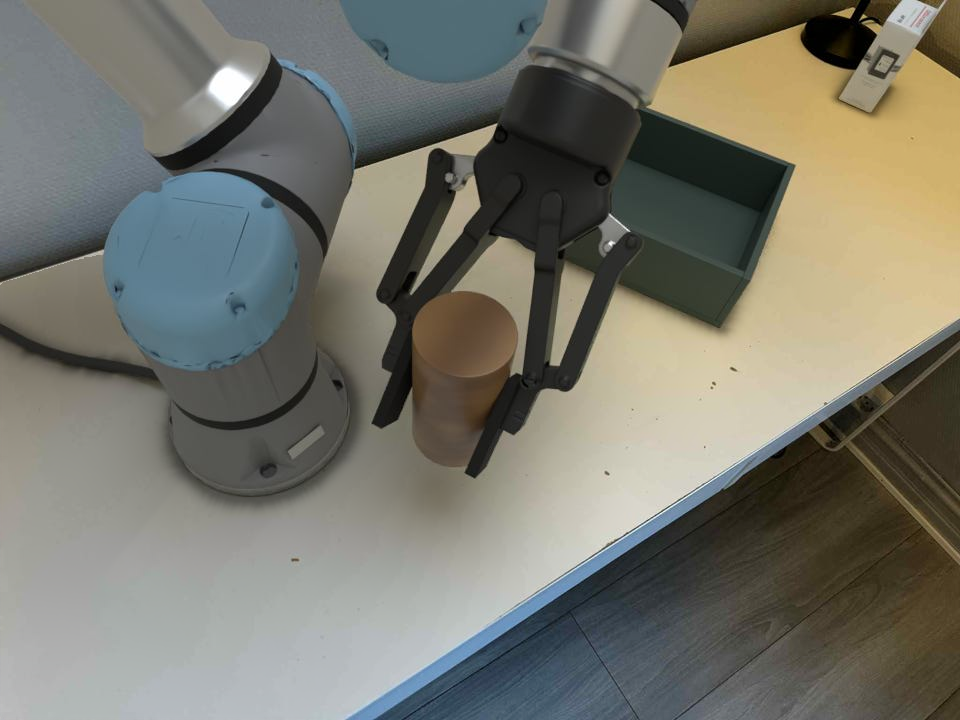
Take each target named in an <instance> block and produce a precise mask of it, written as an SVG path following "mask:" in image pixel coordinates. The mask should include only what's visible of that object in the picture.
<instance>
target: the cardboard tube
mask: <svg viewBox="0 0 960 720" xmlns="http://www.w3.org/2000/svg"><path fill="white" fill-rule="evenodd" d="M518 341H519V331H518V326H517V324H516V321H515V319H514V317H513V315H512V314H511V312H510V311H509V310H508V309H507V308H506V307H505V306H504V305H503V304H502V303H501V302H499V301H498V300H496V299H495V298H493V297H491V296H488V295H486V294H483V293H480V292H476V291H468V290H455V291H451V292H449V293H445V294H442V295H440V296H437V297H435V298H433V299H432V300H430V301H429V302H428V303H426V304H425V305H424V306H423V307H422V308H421V310H420V311H419V312H418V314H417V316H416V318H415V320H414V323H413V328H412V388H411V400H412V401H411V433H412V438H413V441H414V444H415V445H416V447H417V449H418V450H419V452H420V453H421V454H422V455H423V456H424V457H425V458H426V459H428V460H429V461H430V462H432V463H434V464H436V465H439V466H442V467H446V468H464V467H467V466H468V464H469V461H470V459H471V457H472V455H473V452H474V450H475V448H476V446H477V444H478V441H479V439H480V437H481V435H482V433H483V430H484V428H485V426H486V424H487V422H488V419H489V417H490V415H491V413H492V410H493V408H494V406H495V404H496V402H497V399H498V397H499V395H500V393H501V391H502V388H503V386H504V385H505V383H506V381H507V379H508V378H509V377H511V372H512V370H513V365H514V360H515V357H516V351H517V346H518Z"/></svg>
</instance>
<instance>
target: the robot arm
mask: <svg viewBox="0 0 960 720" xmlns="http://www.w3.org/2000/svg"><path fill="white" fill-rule="evenodd" d="M20 1H21V2H22V3H23V4H24V5H25V6H26V7H27V8H28V9H29V10H30V11H31V12H33V14H34V15H36V16H37V18H38V19H40V20H41V21H42V22H43V23H44V24H45V25H46V26H47V27H48V28H49V29H50V30H51V31H52V32H53V33H54V34H55V35H56V36H57V37H58V38H60V40H61V41H62V42H64V44H66V45H67V46H68V48H69V49H71V51H73V52H74V53H75V54H76V56H78V57H79V59H81V60H82V61H83V62H84V63H85V64H86V65H87V66H88V67H89V68H90V69H91V70H92V71H94V73H95V74H96V75H98V77H99V78H101V79H102V81H104V82H105V83H106V84H107V85H108V86H109V87H110V88H111V89H112V90H113V91H114V92H115V93H116V94H117V95H118V96H119V97H120V98H121V99H122V100H123V101H124V102H125V103H127V105H129V107H131V108H132V110H134V111H135V112H136V113H137V114H138V115H139V116H140V120H141V122H142V124H141V125H142V142H143V148H144V149H145V151H146V152H147V154H148V155H150V156H151V157H152V158H153V159H154V160H155V161H156V162H157V163H158V164H159V165H161V166H162V167H163V168H164V169H165V170H166V171H167V172H168V173H169V174H170V175H171V176H172V177H170V178H166V179H164V180H162V181H160V190H159V191H156V192H152V191H150V190H144V191H143V192H142V191H141V193H139V194H138V195H136V196H135V197H134V198H133V199H132V200H131V201H130V202H129V203H128V204H127V205H126V206H125V207H124V208H123V209H122V211H120V213H119V214H118V216H117V217H116V219H115V220H114V222H113V223H112V226H111V228H110V230H109V233H108V235H107V238H106V240H105V244H104V248H103V253H102V272H103V279H104V283H105V287H106V290H107V292H108V294H109V296H110V299H111V301H112V303H113V306H114V311H115V313H116V316H117V318H118V320H119V321H120V323H121V326H122V328H123V329H124V331H125V334H127V336H128V337H129V339H131V340H132V342H134V345H136V346H137V348H138V349H139V351H140V353H141V354H142V355H143V357H144V359H145V360H146V362H147V363H148V365H149V366H150V367H146V366H141V365H137V364H133V363H127V362H122V361H119V360H118V361H117V360H113V359H106V358H99V357H92V356H88V355H87V356H86V355H82V354H78V353H77V354H76V353H72V352H68V351H64V350H60V349H56V348H53V347H50V346H47V345H44V344H42V343H39V342H37V341H34V340H32V339H30V338H28V337H27V336H24V335H23V334H21V333H19V332H17V331H15V330H13V329H11V328H9V327H8V326H6V325H5V324H3V323H0V336H2V337H3V338H5V339H7V340H9V341H10V342H13V343H14V344H16V345H18V346H20V347H22V348H24V349H27V350H28V351H31V352H33V353H36V354H37V355H39V356H43V357H46V358H49V359H52V360H55V361H58V362H63V363H66V364H71V365H75V366H81V367H88V368H92V369H100V370H105V371H110V372H111V371H112V372H117V373H123V374H127V375H132V376H136V377H141V378H144V379H150V380H154V381H158V382H160V384H161V385H162V386H163V388H164V390H165V391H166V393H167V394H168V395H169V397H170V402H169V407H168V429H169V435H170V438H171V442H172V445H173V447H174V450H175V452H176V453H177V455H178V457H179V459H180V460H181V462H182V463H183V464H184V466H185V467H186V468H187V469H188V471H189V472H190V473H191V474H192V475H193V476H194V477H195V478H197V479H198V480H199V481H200V482H202V483H203V484H205V485H206V486H208V487H211V488H213V489H215V490H217V491H219V492H223V493H228V494H231V495H236V496H247V497H254V496H255V497H257V496H266V495H272V494H276V493H279V492H283V491H285V490H288V489H291V488H293V487H296V486H298V485H300V484H302V483H303V482H305V481H307V480H309V479H311V478H312V477H313V476H314V475H317V473H319V472H320V471H321V470H322V469H323V468H324V467H325V466H326V465H327V464H328V463H329V462H330V461H331V459H333V457H334V456H335V455H336V453H337V452H338V450H339V449H340V447H341V445H342V443H343V442H344V439H345V436H346V434H347V430H348V427H349V422H350V411H351V409H350V401H349V394H348V389H347V385H346V382H345V380H344V377H343V375H342V374H341V372H340V369H339V368H338V367H337V365H336V363H335V362H334V361H333V360H332V358H330V356H329V355H327V353H326V352H325V351H324V350H323V349H322V348H321V347H320V346H319V345H318V344H317V343H316V339H315V335H314V330H313V325H312V321H311V307H312V301H313V298H314V295H315V291H316V289H317V285H318V283H319V278H320V276H321V272H322V268H323V266H324V262H325V259H326V257H327V256H328V252H329V249H330V245H331V242H332V239H333V236H334V234H335V231H336V227H337V224H338V222H339V218H340V215H341V212H342V209H343V207H344V204H345V200H346V198H347V196H348V194H349V193H350V190H351V187H352V184H353V179H354V176H355V166H356V163H355V162H356V159H357V152H358V138H357V133H356V128H355V124H354V120H353V118H352V116H351V113H350V111H349V108H348V107H347V105H346V104H345V102H344V101H343V99H342V98H341V96H340V95H339V93H338V92H337V91H336V90H335V89H334V88H333V87H332V86H331V84H329V83H328V82H327V81H326V80H325V79H324V78H322V76H320V75H319V74H318V73H316V72H314V71H313V70H311V69H306V70H303V69H301V68H298V65H297V63H295V62H294V61H290V60H286V59H281V58H276V57H275V56H274V54H273V53H272V52H271V51H270V50H269V48H268V47H267V46H266V45H265V44H264V43H262V42H259V41H253V40H246V39H241V38H236V37H234V36H232V35H230V34H229V33H228V31H227V30H226V28H224V26H223V25H222V24H221V23H220V21H219V20H218V19H217V18H216V17H215V15H214V14H213V13H212V11H210V9H209V8H208V7H207V5H205V3H204V2H203V1H202V0H20ZM337 1H338V3H339V6H340V9H341V11H342V13H343V15H344V18H345V20H346V21H347V23H348V24H349V26H350V28H351V30H352V31H353V33H354V34H356V36H357V37H358V38H359V39H360V41H363V42H364V43H365V44H366V45H367V46H368V47H369V48H370V50H371V51H372V52H374V53H375V54H376V55H378V56H379V57H380V58H381V59H382V60H383V62H384V64H385V65H387V66H389V67H390V68H391V69H393V70H395V71H396V72H399V73H400V74H403V75H405V76H408V77H411V78H413V79H416V80H419V81H423V82H428V83H433V84H447V85H449V84H461V83H467V82H472V81H476V80H479V79H482V78H483V79H484V78H486V77H488V76H489V75H492V74H494V73H496V72H498V71H499V70H501V69H503V68H504V67H506V66H507V65H508V64H509V63H510V62H512V61H513V60H514V59H516V57H517V56H519V55H520V53H521V52H522V51H523V50H524V49H525V48H526V47H527V46H528V47H527V50H526V51H527V54H528V57H529V59H530V60H531V62H532V63H533V64H529V65H526V66H524V68H521V69H519V70H518V73H517V75H516V77H515V79H514V82H513V85H512V87H511V90H510V92H509V94H508V97H507V98H506V101H505V103H504V106H503V108H502V111H501V114H500V116H499V119H498V121H497V123H496V126H495V129H494V132H493V135H492V137H490V140H489V141H488V142H487V144H485V145H484V146H483V147H482V148H480V150H478V152H477V153H476V154H475V155H470V154H458V153H450V152H449V151H447V150H445V149H443V148H441V147H435V148H433V149H431V150H430V152H429V153H428V157H427V163H426V172H425V182H424V187H423V189H422V191H421V194H420V196H419V198H418V200H417V203H416V204H415V207H414V209H413V211H412V213H411V216H410V218H409V220H408V222H407V224H406V226H405V228H404V230H403V233H402V235H401V237H400V239H399V242H398V243H397V245H396V247H395V250H394V252H393V254H392V256H391V258H390V261H389V263H388V265H387V267H386V269H385V270H384V271H385V272H384V274H383V276H382V277H381V279H380V282H379V285H378V287H377V288H376V292H375V298H376V299H377V301H378V302H379V303H380V304H382V305H385V306H386V307H387V308H388V309H389V310H390V311H391V312H392V314H393V315H394V317H395V325H394V328H393V330H392V333H391V335H390V338H389V340H388V342H387V346H386V348H385V351H384V353H383V355H382V358H381V369H382V370H385V371H387V372H388V373H390V377H389V379H388V381H387V383H386V386H385V389H384V391H383V394H382V396H381V397H380V400H379V404H378V406H377V408H376V411H375V413H374V416H373V418H372V421H371V425H373V426H375V427H377V428H379V429H380V430H383V429H384V428H387V427H388V426H389V425H392V424H393V423H395V422H397V421H399V419H400V416H401V415H402V412H403V409H404V408H405V404H406V403H407V400H408V397H409V395H410V392H411V391H412V328H413V323H414V320H415V318H416V316H417V314H418V312H419V311H420V310H421V308H422V307H423V306H424V305H425V304H426V303H428V302H429V301H430V300H432V299H433V298H435V297H437V296H440V295H442V294H445V293H449V292H453V290H454V289H455V288H456V287H457V286H458V284H459V283H461V281H462V279H463V278H464V277H465V276H466V275H467V274H468V273H469V271H470V270H471V269H472V268H473V266H474V265H475V264H476V262H478V260H479V259H480V258H481V257H482V256H483V254H484V253H485V252H486V251H487V250H488V249H489V247H491V246H492V245H494V243H495V242H496V241H497V240H498V239H499V238H503V239H508V240H514V241H516V242H518V243H519V244H521V245H522V246H523V247H524V248H525V249H527V250H529V251H532V252H533V253H534V260H533V271H534V274H533V282H532V290H531V296H530V299H531V300H530V306H529V315H528V322H527V331H526V340H525V348H524V355H523V364H522V371H521V373H519V372H515V373H514V374H512V375H510V377H509V378H508V379H507V381H506V383H505V385H504V386H503V388H502V391H501V393H500V395H499V397H498V399H497V402H496V404H495V406H494V408H493V410H492V413H491V415H490V417H489V419H488V422H487V424H486V426H485V428H484V430H483V433H482V435H481V437H480V439H479V441H478V444H477V446H476V448H475V450H474V452H473V455H472V457H471V459H470V461H469V464H468V466H466V468H465V470H464V474H465V475H466V476H467V477H468V476H469V477H471V478H472V479H475V480H476V478H477V477H478V476H480V475H481V473H482V472H483V471H484V470H485V469H486V468H487V467H488V464H489V462H490V460H491V458H492V456H493V454H494V451H495V449H496V447H497V445H498V443H499V440H500V438H501V436H502V434H503V432H506V433H508V434H510V435H511V436H515V435H516V434H517V433H519V431H520V430H522V428H523V427H524V426H525V425H526V424H527V421H528V419H529V416H530V415H531V413H532V410H533V409H534V406H535V404H536V402H537V400H538V398H539V396H540V394H541V391H544V390H547V389H548V390H558V391H559V392H563V393H567V392H570V391H571V390H573V388H574V387H575V386H576V385H577V383H578V382H579V381H580V379H581V376H582V374H583V372H584V369H585V366H586V363H587V361H588V359H589V356H590V354H591V351H592V349H593V347H594V344H595V342H596V339H597V336H598V334H599V331H600V329H601V327H602V324H603V321H604V319H605V316H606V314H607V311H608V309H609V306H610V303H611V301H612V299H613V296H614V293H615V291H616V289H617V286H618V284H619V283H618V281H619V279H620V276H621V274H622V272H623V271H624V270H625V269H626V268H627V267H628V266H629V264H630V263H631V262H632V261H633V260H634V259H635V258H636V257H637V255H638V254H639V253H640V252H641V251H642V249H643V247H644V241H643V239H642V237H641V236H640V235H639V234H638V233H636V232H632V231H630V230H629V229H628V228H627V227H625V226H624V225H623V224H622V223H621V222H619V221H618V220H617V219H616V218H615V217H614V216H612V215H611V210H612V205H611V194H612V190H613V187H614V184H615V182H616V180H617V178H618V175H619V173H620V171H621V169H622V167H623V165H624V162H625V160H626V158H627V156H628V154H629V152H630V149H631V147H632V145H633V143H634V141H635V138H636V136H637V134H638V132H639V130H640V128H641V125H642V123H641V121H640V115H639V113H638V112H637V111H638V109H643V108H645V107H647V108H648V107H649V106H651V105H652V103H653V102H654V99H655V97H656V95H657V92H658V91H659V88H660V86H661V84H662V82H663V79H664V77H665V75H666V72H667V70H668V68H669V66H670V63H671V61H672V59H673V57H674V55H675V53H676V51H677V48H678V46H679V44H680V42H681V39H682V37H683V35H684V32H685V30H686V28H687V25H688V22H689V19H690V18H691V16H692V14H693V11H694V9H695V8H696V5H697V3H698V1H699V0H337ZM471 177H474V180H475V181H474V182H475V185H476V190H477V195H478V200H479V205H480V206H479V208H478V209H477V210H476V212H475V213H474V214H473V215H472V216H471V218H470V219H469V220H468V221H467V222H466V224H465V225H464V226H463V229H462V232H461V233H460V234H459V236H458V237H457V239H456V240H455V241H454V242H453V243H452V244H451V246H450V247H449V248H448V249H447V251H446V252H445V253H444V255H443V256H442V257H441V258H440V259H439V261H438V262H437V263H436V264H435V266H434V267H433V268H432V269H431V270H430V271H429V273H428V274H427V275H426V277H424V279H423V280H422V281H421V283H420V284H419V285H418V286H417V288H416V289H415V290H414V291H413V293H412V294H411V292H412V289H413V288H414V287H415V284H416V282H417V281H418V278H419V275H420V274H421V271H422V269H423V268H424V265H425V263H426V261H427V259H428V257H429V255H430V253H431V251H432V248H433V246H434V244H435V242H436V240H437V238H438V237H439V234H440V232H441V230H442V227H443V225H444V223H445V221H446V219H447V217H448V215H449V213H450V210H452V209H451V208H452V207H453V204H454V202H455V198H456V194H457V192H460V191H462V190H464V189H465V187H466V185H467V183H468V181H469V179H470V178H471ZM598 228H599V229H600V230H601V232H602V239H601V241H600V243H599V247H598V249H599V253H600V254H601V256H602V257H604V259H603V260H602V262H601V263H600V265H599V267H598V269H597V271H596V273H595V272H594V273H595V274H594V275H593V279H592V281H591V284H590V287H589V289H588V291H587V294H586V296H585V298H584V301H583V304H582V307H581V309H580V311H579V314H578V316H577V319H576V322H575V325H574V326H573V329H572V332H571V335H570V338H569V340H568V343H567V345H566V347H565V350H564V352H563V355H562V357H561V361H560V363H559V365H552V364H551V363H552V362H551V361H552V352H553V345H554V338H555V332H556V331H555V330H556V321H557V315H558V308H559V307H558V306H559V298H560V291H561V283H562V275H563V272H564V267H565V261H566V259H565V255H566V247H567V246H569V245H571V244H572V243H574V242H576V241H577V240H579V239H581V238H582V237H584V236H586V235H587V234H589V233H591V232H592V231H594V230H596V229H598Z"/></svg>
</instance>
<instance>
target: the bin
mask: <svg viewBox="0 0 960 720" xmlns="http://www.w3.org/2000/svg"><path fill="white" fill-rule="evenodd" d="M637 112H638V113H639V115H640V121H641V123H642V125H641V128H640V130H639V132H638V134H637V136H636V138H635V141H634V143H633V145H632V147H631V149H630V152H629V154H628V156H627V158H626V160H625V162H624V165H623V167H622V169H621V171H620V173H619V175H618V178H617V180H616V182H615V184H614V187H613V190H612V194H611V205H612V210H611V215H612V216H614V217H615V218H616V219H617V220H618V221H619V222H621V223H622V224H623V225H624V226H625V227H627V228H628V229H629V230H630V231H632V232H636V233H638V234H639V235H640V236H641V237H642V239H643V241H644V247H643V249H642V251H641V252H640V253H639V254H638V255H637V257H636V258H635V259H634V260H633V261H632V262H631V263H630V264H629V266H628V267H627V268H626V269H625V270H624V271H623V272H622V274H621V276H620V279H619V281H618V284H620V285H622V286H625V287H626V288H629V289H632V290H634V291H636V292H638V293H640V294H642V295H645V296H647V297H650V298H651V299H653V300H656V301H657V302H660V303H662V304H664V305H667V306H669V307H672V308H674V309H676V310H678V311H681V312H683V313H685V314H687V315H690V316H691V317H694V318H696V319H699V320H701V321H703V322H705V323H708V324H710V325H712V326H715V327H716V328H721V327H722V326H723V324H724V322H725V321H726V319H727V318H728V316H729V315H730V314H731V312H732V310H733V309H734V307H735V306H736V304H737V303H738V301H739V299H741V296H743V293H744V292H745V290H747V287H749V284H750V283H751V281H752V279H753V276H754V273H755V271H756V268H757V267H758V263H759V261H760V258H761V256H762V253H763V250H764V248H765V245H766V243H767V241H768V238H769V236H770V233H771V230H772V228H773V225H774V223H775V220H776V218H777V215H778V213H779V210H780V208H781V205H782V202H783V199H784V197H785V195H786V193H787V190H788V187H789V185H790V182H791V180H792V177H793V174H794V171H795V170H796V167H797V164H795V163H792V162H789V161H787V160H785V159H782V158H779V157H776V156H775V155H771V154H769V153H767V152H763V151H761V150H759V149H757V148H753V147H751V146H748V145H745V144H743V143H740V142H738V141H735V140H732V139H730V138H727V137H725V136H722V135H719V134H717V133H715V132H712V131H710V130H706V129H704V128H701V127H699V126H696V125H694V124H691V123H689V122H686V121H684V120H682V119H681V120H680V119H678V118H675V117H673V116H670V115H667V114H665V113H662V112H660V111H658V110H654V109H653V108H649V107H648V106H647V107H645V108H643V109H638V111H637ZM601 239H602V232H601V230H600V229H599V228H598V229H596V230H594V231H592V232H591V233H589V234H587V235H586V236H584V237H582V238H581V239H579V240H577V241H576V242H574V243H572V244H571V245H569V246H567V247H566V255H565V261H569V262H571V263H573V264H575V265H577V266H580V267H582V268H585V269H586V270H589V271H591V272H593V273H596V271H597V269H598V267H599V265H600V263H601V262H602V260H603V259H604V257H602V256H601V254H600V253H599V249H598V247H599V243H600V241H601Z"/></svg>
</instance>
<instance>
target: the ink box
mask: <svg viewBox="0 0 960 720" xmlns="http://www.w3.org/2000/svg"><path fill="white" fill-rule="evenodd" d="M947 1H948V0H943V1H942V3H941V4H940V5H939V7H938V8H937V7H933V6H932V5H930V4H927V3H924V2H922V1H919V0H901V1H900V2H899V3H898V4H897V6H896V7H895V8H894V9H893V11H892V12H891V13H890V15H888V17H887V18H886V20H885V22H884V24H883V25H882V27H881V28H880V30H879V31H878V33H877V35H876V37H875V38H874V39H873V42H871V43H872V44H871V45H870V46H869V48H868V50H867V51H866V53H865V55H864V57H863V58H862V59H861V61H860V63H859V64H858V66H857V68H856V69H855V71H854V72H853V74H852V76H851V78H850V79H849V81H848V82H847V84H846V86H845V87H844V89H843V91H842V92H841V94H840V95H839V96H838V99H839V101H841V102H845V103H846V104H849V105H851V106H853V107H855V108H857V109H859V110H862V111H864V112H866V113H872V112H873V110H874V109H875V107H876V106H877V104H879V102H880V100H881V99H882V97H883V96H884V95H885V93H886V91H887V90H889V87H890V86H891V84H892V83H893V81H894V80H895V79H896V77H897V75H898V74H899V72H900V71H901V70H902V68H903V67H904V65H905V64H906V62H907V60H908V59H909V57H910V56H911V55H912V53H913V52H914V50H915V49H916V47H917V46H918V44H919V43H920V41H921V40H922V38H923V37H924V35H925V34H926V33H927V31H928V30H929V28H930V27H931V25H932V23H933V22H934V20H935V19H936V17H937V16H938V14H939V13H940V11H941V10H942V8H943V7H944V6H945V4H946V2H947Z"/></svg>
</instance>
